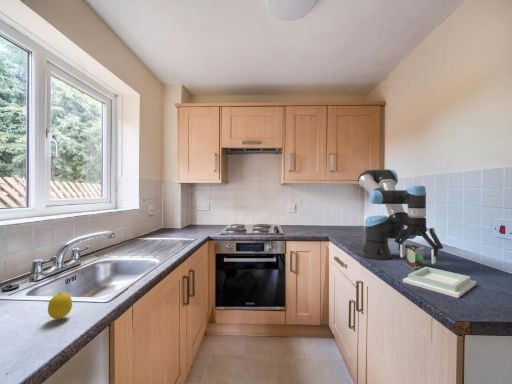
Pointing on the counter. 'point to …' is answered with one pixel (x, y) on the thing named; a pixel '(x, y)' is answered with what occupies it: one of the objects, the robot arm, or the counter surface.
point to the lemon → (60, 306)
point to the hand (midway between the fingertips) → (417, 260)
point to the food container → (414, 256)
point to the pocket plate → (440, 281)
